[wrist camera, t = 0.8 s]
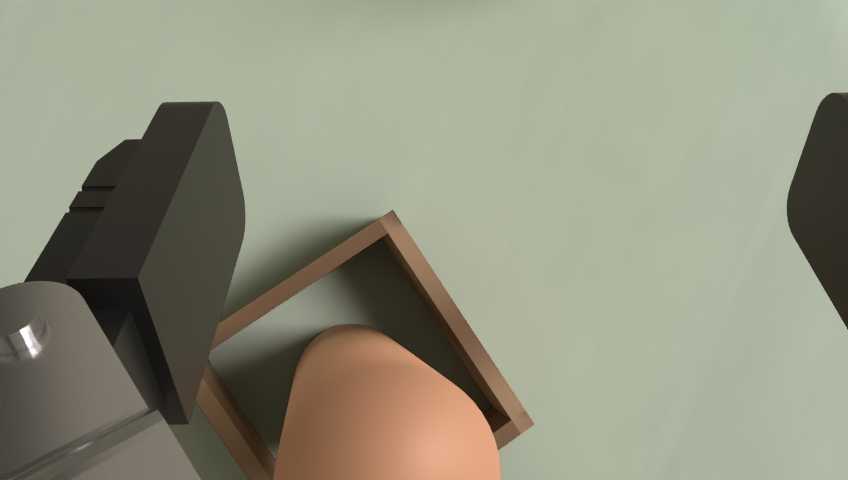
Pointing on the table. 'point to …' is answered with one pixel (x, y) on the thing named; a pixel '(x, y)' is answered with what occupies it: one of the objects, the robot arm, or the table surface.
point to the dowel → (379, 416)
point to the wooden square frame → (506, 408)
